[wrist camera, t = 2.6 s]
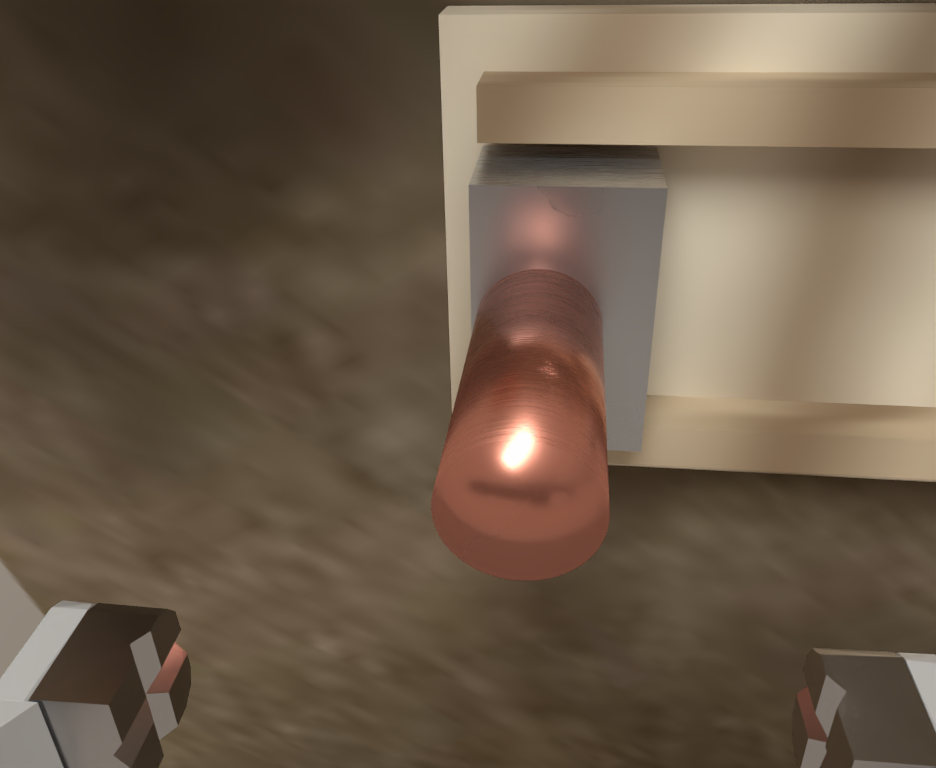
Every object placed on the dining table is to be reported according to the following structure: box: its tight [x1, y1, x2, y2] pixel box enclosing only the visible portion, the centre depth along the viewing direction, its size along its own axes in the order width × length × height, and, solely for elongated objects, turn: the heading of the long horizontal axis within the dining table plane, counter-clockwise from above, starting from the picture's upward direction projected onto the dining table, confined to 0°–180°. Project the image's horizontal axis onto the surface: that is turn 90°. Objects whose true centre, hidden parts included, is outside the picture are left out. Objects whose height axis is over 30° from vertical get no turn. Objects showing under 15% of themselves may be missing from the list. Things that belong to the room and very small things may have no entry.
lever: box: [431, 145, 668, 581], centre depth 17 cm, size 4×6×10 cm, turn 1°
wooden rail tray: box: [439, 3, 936, 482], centre depth 20 cm, size 20×12×6 cm, turn 91°
